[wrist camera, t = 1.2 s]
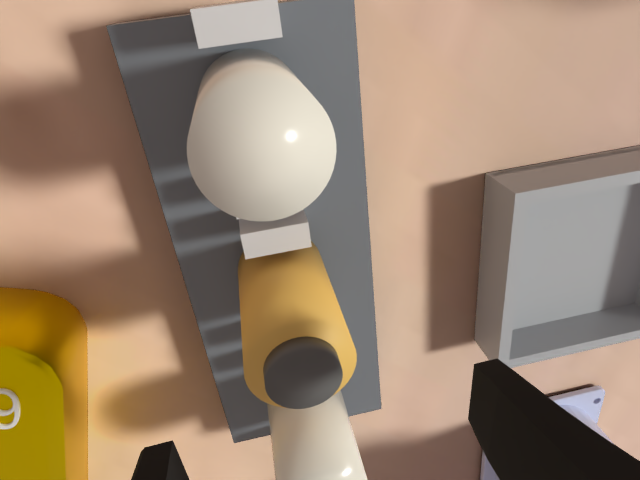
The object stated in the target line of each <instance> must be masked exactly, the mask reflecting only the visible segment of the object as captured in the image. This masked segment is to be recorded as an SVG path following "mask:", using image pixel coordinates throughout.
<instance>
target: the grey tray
mask: <svg viewBox="0 0 640 480" xmlns="http://www.w3.org/2000/svg"><path fill="white" fill-rule="evenodd" d="M639 338H640V145H639V146H633V147H628V148H622V149H617V150H611V151H606V152H600V153H595V154H589V155H583V156H578V157H572V158H567V159H561V160H556V161H550V162H545V163H539V164H534V165H528V166H523V167H517V168H511V169H506V170H500V171H495V172H489V173H486V174H485V189H484V204H483V219H482V233H481V248H480V263H479V278H478V293H477V307H476V322H475V337H474V340H475V341H476V343H477V344H478V345H479V347H480V348H481V350H482V351H483V352H484V354H485V355H486V356H487V358H488V359H489V360H493V359H497V358H498V359H499V360H500V361H502V362H503V363H504V364H506V365H507V366H508V367H510V368H513V367H517V366H521V365H526V364H530V363H534V362H539V361H543V360H547V359H552V358H556V357H560V356H565V355H569V354H574V353H578V352H582V351H587V350H591V349H595V348H600V347H604V346H608V345H613V344H617V343H621V342H626V341H630V340H634V339H639Z"/></svg>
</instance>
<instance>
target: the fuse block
mask: <svg viewBox="0 0 640 480" xmlns="http://www.w3.org/2000/svg"><path fill="white" fill-rule="evenodd" d="M190 12H191V13H189V14H181V15H173V16H166V17H158V18H151V19H143V20H135V21H128V22H120V23H114V24H111V25H107V26H106V27H107V30H108V33H109V36H110V40H111V43H112V46H113V50H114V53H115V56H116V59H117V63H118V66H119V69H120V72H121V76H122V79H123V82H124V85H125V89H126V92H127V95H128V98H129V102H130V105H131V108H132V112H133V115H134V118H135V121H136V125H137V128H138V131H139V134H140V138H141V141H142V144H143V147H144V151H145V154H146V157H147V160H148V164H149V167H150V170H151V174H152V177H153V180H154V183H155V187H156V190H157V193H158V196H159V200H160V203H161V206H162V209H163V213H164V216H165V219H166V222H167V226H168V229H169V232H170V236H171V239H172V242H173V245H174V249H175V252H176V255H177V258H178V262H179V265H180V268H181V271H182V275H183V278H184V281H185V284H186V288H187V291H188V294H189V298H190V301H191V304H192V307H193V311H194V314H195V317H196V320H197V324H198V327H199V330H200V333H201V337H202V340H203V343H204V346H205V350H206V353H207V356H208V360H209V363H210V366H211V369H212V373H213V376H214V379H215V382H216V386H217V389H218V392H219V395H220V399H221V402H222V405H223V408H224V412H225V415H226V418H227V422H228V425H229V428H230V431H231V435H232V438H233V441H234V443H237V442H241V441H246V440H250V439H254V438H258V437H263V436H267V435H271V433H270V424H269V415H268V406H267V403H266V402H264V401H262V400H260V399H259V398H257V397H256V396H255V395H254V394H253V393H252V392H251V391H250V389H249V388H248V386H247V384H246V381H245V378H244V370H243V352H242V335H241V318H240V300H239V283H238V263H239V260H240V257H241V255H242V253H243V251H244V255H245V259H250V258H256V257H261V256H266V255H271V254H277V253H282V252H287V251H292V250H298V249H303V248H308V247H312V245H311V241H312V242H313V243H314V245H315V246H316V247H317V249H318V251H319V253H320V255H321V258H322V261H323V263H324V266H325V269H326V271H327V274H328V277H329V279H330V282H331V285H332V287H333V290H334V293H335V295H336V298H337V301H338V303H339V306H340V309H341V311H342V314H343V317H344V319H345V322H346V325H347V327H348V330H349V333H350V335H351V338H352V341H353V343H354V346H355V349H356V354H357V362H356V367H355V370H354V373H353V375H352V377H351V378H350V380H349V381H348V383H347V384H346V385H345V386H344V387H343V388H342V389H341V393H342V396H343V400H344V403H345V406H346V410H347V413H348V416H353V415H357V414H361V413H366V412H370V411H374V410H378V409H381V397H380V382H379V367H378V352H377V337H376V322H375V307H374V292H373V277H372V262H371V247H370V232H369V217H368V202H367V187H366V172H365V157H364V142H363V127H362V112H361V97H360V82H359V67H358V52H357V37H356V22H355V7H354V0H288V1H280V2H278V0H245V1H237V2H230V3H222V4H214V5H206V6H199V7H194V8H192V9H190ZM245 48H251V49H258V50H262V51H265V52H268V53H270V54H272V55H274V56H276V57H277V58H278V59H280V60H281V61H282V62H283V63H284V64H285V65H286V66H287V67H288V68H289V69H290V70H291V71H292V72H293V73H294V75H295V76H296V77H297V78H298V79H299V80H300V81H301V83H302V84H303V85H304V86H305V87H306V88H307V89H308V90H309V92H310V93H311V94H312V95H313V96H314V97H315V98H316V99H317V101H318V102H319V103H320V104H321V105H322V107H323V108H324V110H325V111H326V113H327V114H328V116H329V118H330V121H331V123H332V126H333V129H334V132H335V138H336V150H337V152H336V161H335V165H334V170H333V172H332V175H331V178H330V180H329V181H328V183H327V185H326V187H325V188H324V190H323V191H322V193H321V194H320V195H319V196H318V197H317V198H316V199H315V200H314V201H313V202H312V203H311V204H310V205H309V206H307V207H306V208H304V209H303V210H301V211H300V212H298V213H296V214H294V215H291V216H289V217H286V218H283V219H279V220H274V221H249V220H244V219H240V218H237V217H234V216H232V215H230V214H228V213H226V212H224V211H222V210H220V209H219V208H217V207H216V206H215V205H213V204H212V203H211V202H210V201H209V200H208V199H207V198H206V197H205V196H204V195H203V193H202V192H201V191H200V189H199V188H198V186H197V185H196V183H195V181H194V179H193V177H192V174H191V172H190V169H189V165H188V159H187V138H188V133H189V129H190V125H191V121H192V116H193V112H194V108H195V104H196V99H197V95H198V91H199V87H200V83H201V80H202V78H203V76H204V74H205V72H206V70H207V69H208V68H209V66H210V65H211V64H212V63H213V62H214V61H215V60H216V59H218V58H219V57H220V56H222V55H224V54H226V53H228V52H230V51H233V50H237V49H245Z"/></svg>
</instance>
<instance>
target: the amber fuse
mask: <svg viewBox="0 0 640 480" xmlns="http://www.w3.org/2000/svg"><path fill="white" fill-rule="evenodd" d="M311 245H312V247H308V248H303V249H298V250H292V251H287V252H282V253H277V254H271V255H266V256H261V257H256V258H250V259H245V255H244V251H243V253H242V255H241V257H240V260H239V263H238V283H239V300H240V318H241V335H242V352H243V370H244V378H245V381H246V384H247V386H248V388H249V389H250V391H251V392H252V393H253V394H254V395H255V396H256V397H257V398H259V399H260V400H262V401H264V402H266V403H268V404H270V405H273V406H277V407H283V408H290V409H305V408H310V407H314V406H316V405H319V404H321V403H323V402H325V401H326V400H328V399H329V398H330V397H332V396H333V395H335V394H336V393H337V392H339V391H340V390H341V389H342V388H343V387H344V386H345V385H346V384H347V383H348V381H349V380H350V378H351V377H352V375H353V373H354V370H355V367H356V362H357V354H356V349H355V346H354V343H353V341H352V338H351V335H350V333H349V330H348V327H347V325H346V322H345V319H344V317H343V314H342V311H341V309H340V306H339V303H338V301H337V298H336V295H335V293H334V290H333V287H332V285H331V282H330V279H329V277H328V274H327V271H326V269H325V266H324V263H323V261H322V258H321V255H320V253H319V251H318V249H317V247H316V246H315V245H314V243H313V242H312V241H311Z"/></svg>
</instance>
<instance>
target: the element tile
mask: <svg viewBox="0 0 640 480" xmlns="http://www.w3.org/2000/svg"><path fill="white" fill-rule="evenodd" d="M0 480H88V376H87V327H86V324H85V321H84V319H83V318H82V316H81V314H80V312H79V311H78V309H77V308H76V307H74V306H73V305H72V304H71V303H69V302H68V301H67V300H66V299H63V298H61V297H58V296H55V295H53V294H50V293H48V292H43V291H37V290H32V289H18V288H3V287H0Z"/></svg>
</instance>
